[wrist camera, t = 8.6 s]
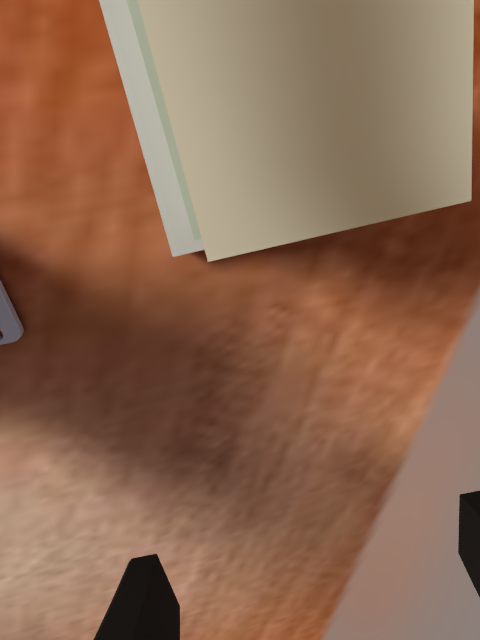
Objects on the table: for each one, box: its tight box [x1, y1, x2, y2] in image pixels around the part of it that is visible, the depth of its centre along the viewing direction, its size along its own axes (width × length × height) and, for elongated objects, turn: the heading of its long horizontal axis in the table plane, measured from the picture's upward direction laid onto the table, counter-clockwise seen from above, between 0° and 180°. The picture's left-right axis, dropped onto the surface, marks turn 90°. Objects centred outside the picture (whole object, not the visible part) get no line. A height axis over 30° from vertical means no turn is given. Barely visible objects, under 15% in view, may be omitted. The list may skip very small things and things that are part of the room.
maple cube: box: [138, 0, 474, 262], centre depth 9 cm, size 5×5×5 cm
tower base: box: [99, 0, 205, 257], centre depth 15 cm, size 9×9×2 cm
